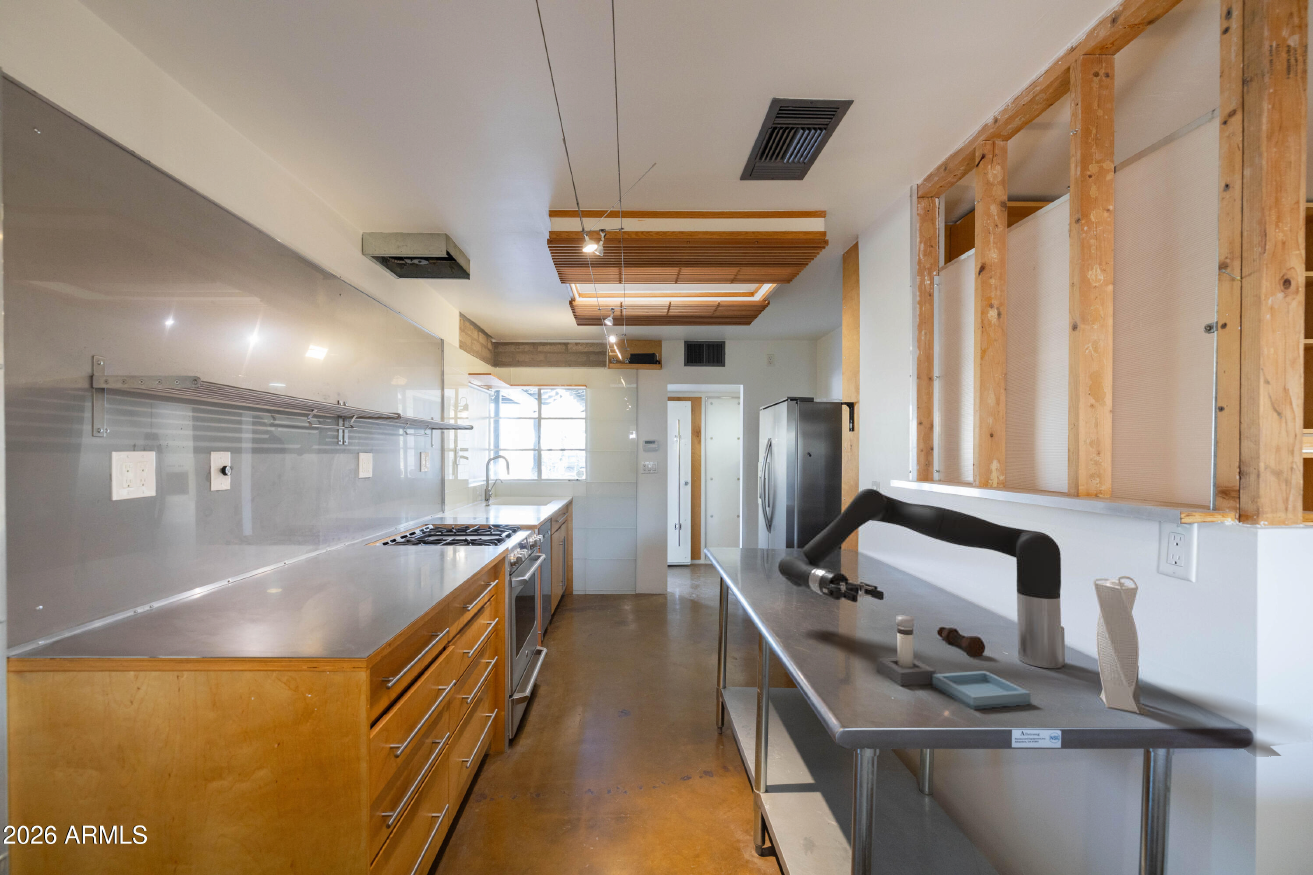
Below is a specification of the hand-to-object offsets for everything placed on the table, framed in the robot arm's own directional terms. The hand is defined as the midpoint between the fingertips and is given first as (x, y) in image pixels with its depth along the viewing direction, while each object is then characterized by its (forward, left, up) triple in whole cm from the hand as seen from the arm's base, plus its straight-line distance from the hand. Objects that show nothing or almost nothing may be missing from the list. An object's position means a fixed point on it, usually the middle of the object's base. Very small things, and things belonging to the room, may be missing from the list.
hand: (869, 597), depth 138 cm
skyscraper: (-38, +32, -17) cm, 53 cm away
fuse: (-2, +11, -16) cm, 20 cm away
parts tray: (-12, +23, -16) cm, 30 cm away
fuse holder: (-2, +11, -16) cm, 20 cm away
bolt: (-31, -6, -17) cm, 35 cm away
